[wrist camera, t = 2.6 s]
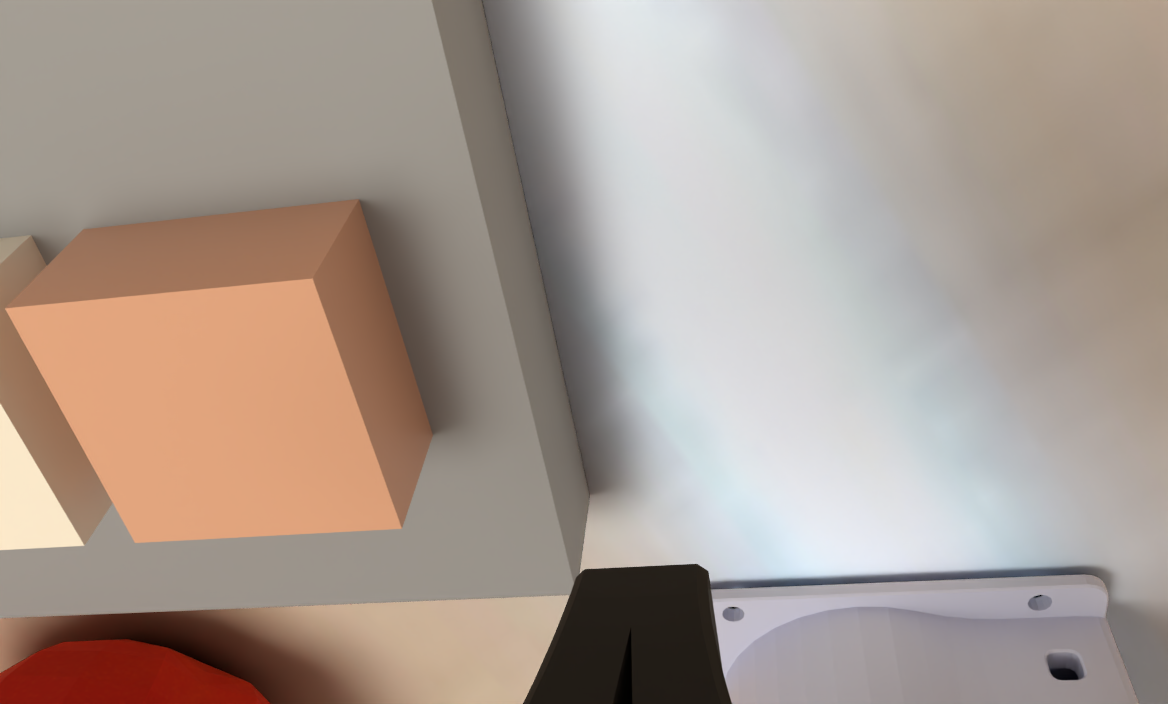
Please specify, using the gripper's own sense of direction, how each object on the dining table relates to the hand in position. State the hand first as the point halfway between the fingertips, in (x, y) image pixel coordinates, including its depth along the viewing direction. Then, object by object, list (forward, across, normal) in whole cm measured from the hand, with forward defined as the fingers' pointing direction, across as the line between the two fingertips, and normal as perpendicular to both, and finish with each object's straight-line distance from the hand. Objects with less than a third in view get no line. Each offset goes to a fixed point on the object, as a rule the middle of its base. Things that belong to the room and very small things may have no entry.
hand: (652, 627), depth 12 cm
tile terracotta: (+7, +7, +1) cm, 10 cm away
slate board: (+10, +10, +1) cm, 14 cm away
